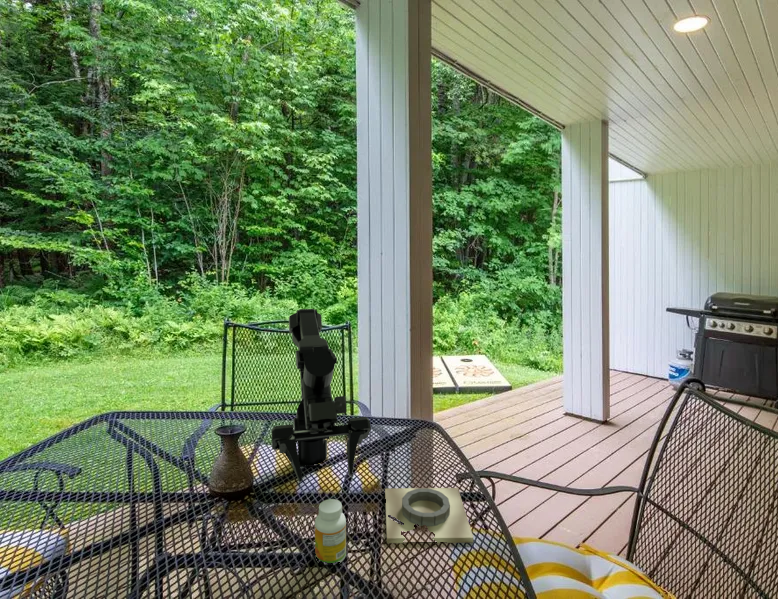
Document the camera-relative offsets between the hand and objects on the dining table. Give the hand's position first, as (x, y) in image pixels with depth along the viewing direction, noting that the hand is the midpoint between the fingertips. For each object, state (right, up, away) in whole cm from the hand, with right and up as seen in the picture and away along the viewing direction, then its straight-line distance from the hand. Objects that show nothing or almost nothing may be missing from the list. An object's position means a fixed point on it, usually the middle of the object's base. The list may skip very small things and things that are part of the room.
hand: (325, 478), depth 83 cm
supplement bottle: (+1, -13, -3) cm, 13 cm away
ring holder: (+19, -11, +8) cm, 23 cm away
